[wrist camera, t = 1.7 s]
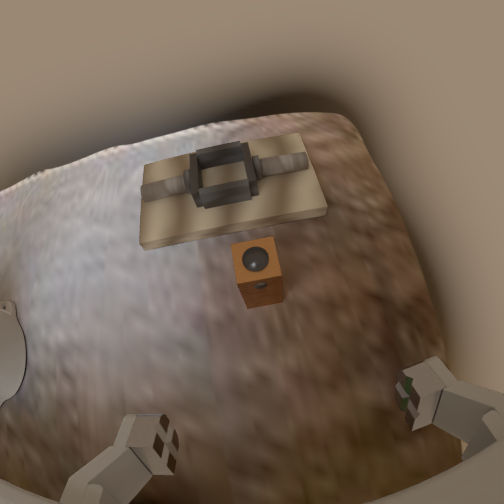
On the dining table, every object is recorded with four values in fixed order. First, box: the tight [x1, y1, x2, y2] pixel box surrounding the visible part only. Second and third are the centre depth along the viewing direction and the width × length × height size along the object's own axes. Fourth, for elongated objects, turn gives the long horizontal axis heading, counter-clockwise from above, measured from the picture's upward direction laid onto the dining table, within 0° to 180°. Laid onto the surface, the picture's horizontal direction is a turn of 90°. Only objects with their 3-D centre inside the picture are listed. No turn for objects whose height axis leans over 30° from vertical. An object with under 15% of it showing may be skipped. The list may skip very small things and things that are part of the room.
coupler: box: [231, 236, 283, 309], centre depth 31 cm, size 4×4×8 cm
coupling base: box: [139, 133, 328, 251], centre depth 39 cm, size 24×14×5 cm, turn 99°
